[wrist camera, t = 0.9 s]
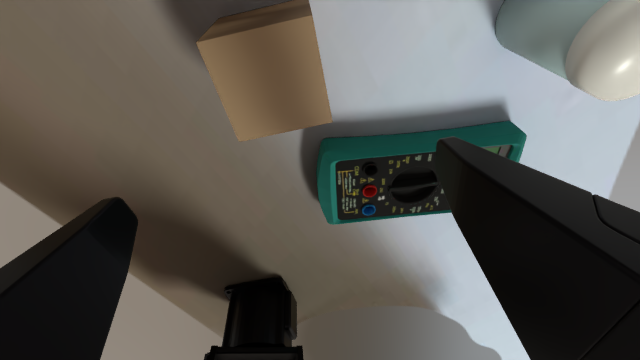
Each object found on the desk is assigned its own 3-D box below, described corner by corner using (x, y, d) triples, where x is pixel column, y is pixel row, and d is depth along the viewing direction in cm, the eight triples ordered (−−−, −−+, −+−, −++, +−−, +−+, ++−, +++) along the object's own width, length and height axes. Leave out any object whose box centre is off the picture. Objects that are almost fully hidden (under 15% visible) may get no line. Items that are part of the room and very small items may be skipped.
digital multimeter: (312, 135, 22) (314, 158, 20) (513, 116, 22) (538, 136, 20) (319, 206, 27) (321, 232, 24) (485, 190, 27) (503, 214, 24)
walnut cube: (249, 101, 20) (239, 142, 16) (218, 18, 16) (196, 42, 13) (324, 85, 19) (332, 122, 15) (307, -4, 16) (312, 15, 12)
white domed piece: (488, 59, 19) (571, 110, 13) (500, -19, 16) (611, 3, 11) (557, 43, 19) (671, 89, 13) (581, -39, 16) (737, -26, 10)
